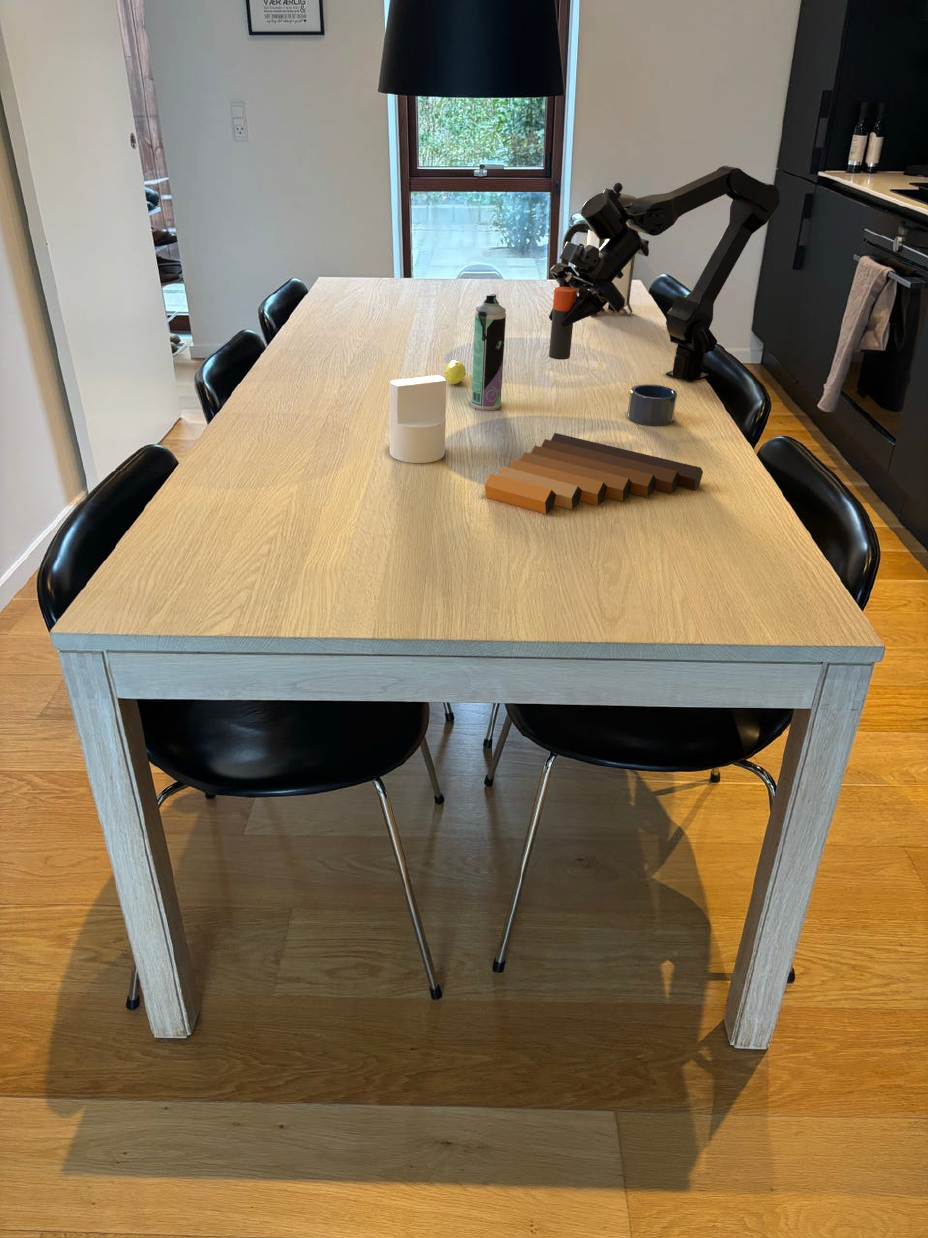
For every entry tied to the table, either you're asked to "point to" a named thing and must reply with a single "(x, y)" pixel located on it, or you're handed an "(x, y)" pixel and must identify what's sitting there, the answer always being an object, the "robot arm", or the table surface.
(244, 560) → the table surface
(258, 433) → the table surface
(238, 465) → the table surface
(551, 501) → the pan flute
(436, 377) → the base with upright slab
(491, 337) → the spray can
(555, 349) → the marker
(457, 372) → the yellow potato
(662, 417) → the pen cup
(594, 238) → the coffee press
